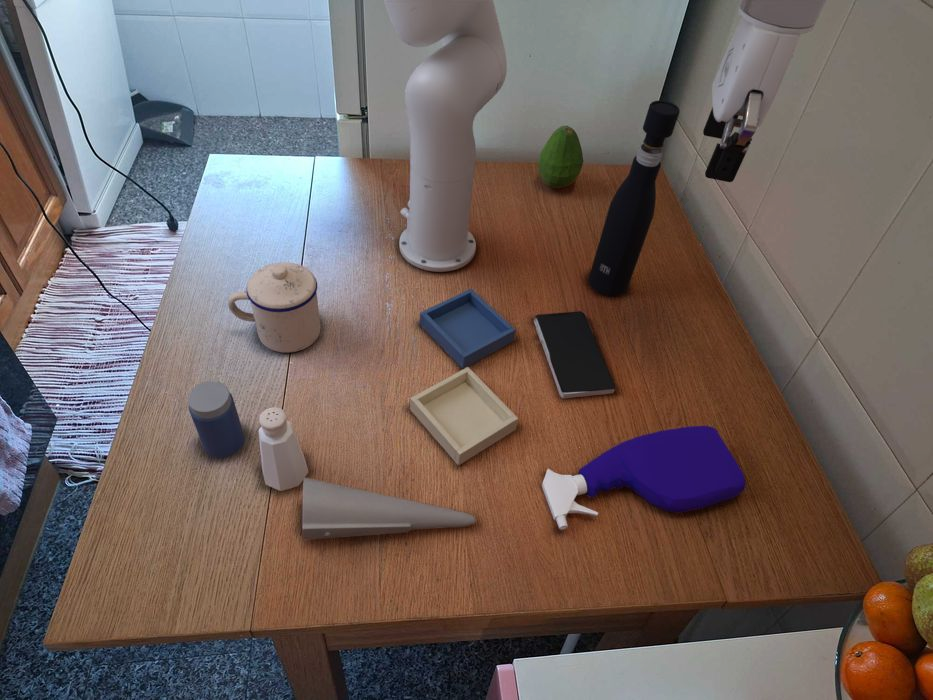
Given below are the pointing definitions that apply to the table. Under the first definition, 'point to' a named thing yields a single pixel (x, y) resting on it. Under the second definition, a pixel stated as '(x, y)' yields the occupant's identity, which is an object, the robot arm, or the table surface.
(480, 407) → the cream tray
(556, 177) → the avocado
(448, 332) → the blue tray
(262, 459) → the salt shaker
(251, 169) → the table surface
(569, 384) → the smartphone
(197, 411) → the pepper shaker
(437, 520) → the grey tapered cone
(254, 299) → the teacup with lid
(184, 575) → the table surface
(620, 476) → the spray bottle
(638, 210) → the black bottle
